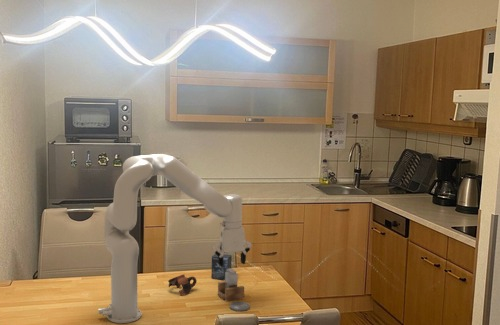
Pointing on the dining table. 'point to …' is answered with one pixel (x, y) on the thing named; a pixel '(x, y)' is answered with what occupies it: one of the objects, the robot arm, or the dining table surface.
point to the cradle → (230, 292)
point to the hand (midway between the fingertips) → (232, 264)
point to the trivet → (239, 306)
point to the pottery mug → (183, 283)
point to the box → (217, 270)
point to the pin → (231, 278)
